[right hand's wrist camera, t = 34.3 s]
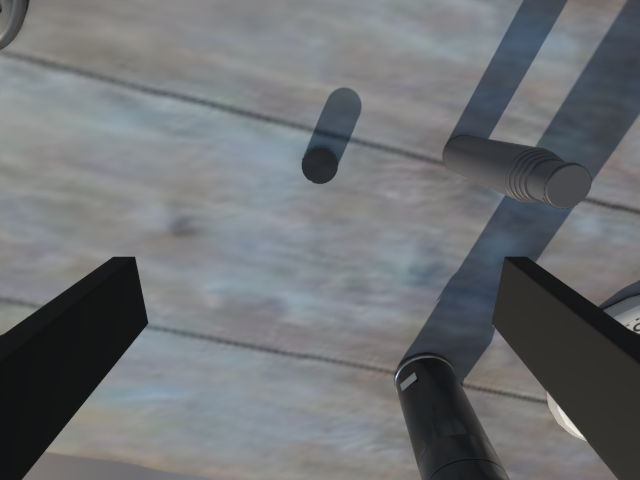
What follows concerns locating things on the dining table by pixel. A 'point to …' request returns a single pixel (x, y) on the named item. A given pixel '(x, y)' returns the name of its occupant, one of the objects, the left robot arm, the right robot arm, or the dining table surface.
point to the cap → (319, 164)
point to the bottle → (518, 171)
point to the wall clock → (633, 315)
